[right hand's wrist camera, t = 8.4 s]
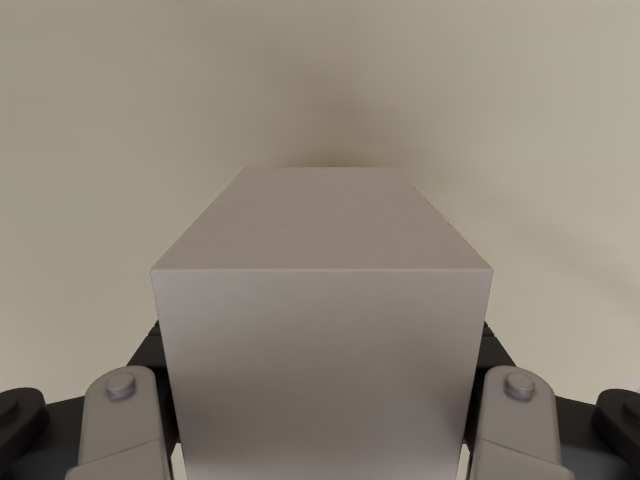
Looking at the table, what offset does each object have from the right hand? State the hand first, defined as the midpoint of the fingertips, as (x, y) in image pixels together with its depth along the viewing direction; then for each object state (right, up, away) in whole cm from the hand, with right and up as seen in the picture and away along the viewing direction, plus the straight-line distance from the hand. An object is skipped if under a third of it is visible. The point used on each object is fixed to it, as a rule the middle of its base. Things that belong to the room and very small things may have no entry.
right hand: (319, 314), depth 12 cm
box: (0, -7, +8) cm, 10 cm away
